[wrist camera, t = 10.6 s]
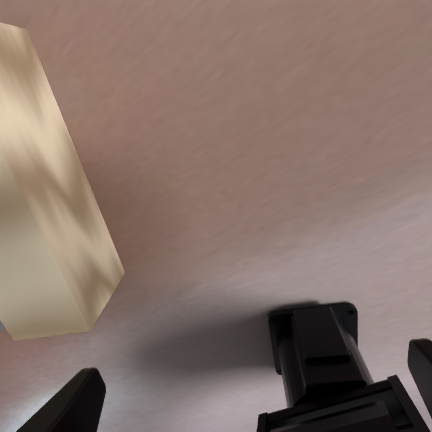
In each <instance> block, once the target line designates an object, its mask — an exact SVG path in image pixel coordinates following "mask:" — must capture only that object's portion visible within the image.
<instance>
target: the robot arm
mask: <svg viewBox="0 0 432 432" xmlns="http://www.w3.org/2000/svg"><path fill="white" fill-rule="evenodd" d="M348 310H351V311H348ZM272 318H276V319H272ZM268 322H269V328H270V335H271V341H272V348H273V354H274V361H275V367H276V372H277V374H279V375H282V377H283V384H284V390H285V396H286V402H287V408H286V409H283V410H279V411H276V412H272V413H269V414H268V413H267V412H266V413H263V414H259V417H258V426H257V432H430V430H429V428H428V427H427V425H426V423H425V422H424V420H423V418H422V417H421V415H420V413H419V412H418V410H417V408H416V407H415V405H414V403H413V402H412V400H411V398H410V397H409V395H408V393H407V392H406V390H405V388H404V387H403V385H402V383H401V381H400V380H399V378H398V376H397V375H394V376H390V377H387V378H388V379H386V380H383V381H379V382H376V383H374V381H373V379H372V377H371V375H370V373H369V371H368V369H367V367H366V364H365V362H364V360H363V358H362V356H361V354H360V352H359V350H358V312H357V309H356V307H355V306H354V304H351V303H347V304H338V305H328V306H319V307H309V308H300V309H291V310H281V311H273V312H270V313H269V314H268ZM408 367H409V370H410V372H411V374H412V377H413V379H414V381H415V383H416V385H417V387H418V390H419V392H420V394H421V396H422V398H423V401H424V403H425V405H426V407H427V409H428V412H429V414H430V416H431V418H432V341H431V340H429V339H426V338H422V339H412V340H411V341H410V342H409V350H408ZM105 394H106V386H105V383H104V381H103V379H102V377H101V375H100V373H99V371H98V369H97V368H85V369H82V370H81V371H80V372H78V373H77V374H76V375H75V376H74V377H73V378H72V379H71V380H70V381H69V382H68V383H67V384H66V385H65V386H64V387H63V388H62V389H61V390H59V391H58V392H57V393H56V394H55V395H54V396H53V397H52V398H51V399H50V400H49V401H48V402H47V403H46V404H45V405H44V406H43V407H42V408H40V409H39V410H38V411H37V412H36V413H35V414H34V415H33V416H32V417H31V418H30V419H29V420H28V421H27V422H26V423H25V424H24V425H23V426H21V427H20V428H19V429H18V430H17V431H16V432H97V429H98V424H99V420H100V416H101V411H102V407H103V403H104V399H105Z"/></svg>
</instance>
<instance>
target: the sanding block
mask: <svg viewBox="0 0 432 432" xmlns="http://www.w3.org/2000/svg"><path fill="white" fill-rule="evenodd" d="M124 273H125V271H124V269H123V266H122V264H121V261H120V259H119V256H118V254H117V251H116V249H115V246H114V244H113V241H112V239H111V236H110V234H109V232H108V229H107V227H106V224H105V222H104V219H103V217H102V214H101V212H100V209H99V207H98V204H97V202H96V199H95V197H94V194H93V192H92V189H91V187H90V184H89V182H88V180H87V177H86V175H85V172H84V170H83V167H82V165H81V162H80V160H79V157H78V155H77V152H76V150H75V147H74V145H73V142H72V140H71V137H70V135H69V132H68V130H67V128H66V125H65V123H64V120H63V118H62V115H61V113H60V110H59V108H58V105H57V103H56V100H55V98H54V95H53V93H52V90H51V88H50V85H49V83H48V80H47V78H46V75H45V73H44V71H43V68H42V66H41V63H40V61H39V58H38V56H37V53H36V51H35V48H34V46H33V43H32V41H31V38H30V36H29V33H28V31H27V30H26V29H23V28H19V27H15V26H12V25H8V24H4V23H0V321H1V322H2V324H3V325H4V327H5V328H6V330H7V331H8V333H9V334H10V336H11V338H12V339H13V341H18V340H25V339H33V338H40V337H48V336H56V335H63V334H71V333H79V332H86V331H91V329H92V328H93V326H94V324H95V323H96V321H97V319H98V318H99V316H100V314H101V312H102V311H103V309H104V307H105V306H106V304H107V302H108V301H109V299H110V297H111V295H112V294H113V292H114V290H115V289H116V287H117V285H118V284H119V282H120V280H121V279H122V277H123V275H124Z"/></svg>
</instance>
